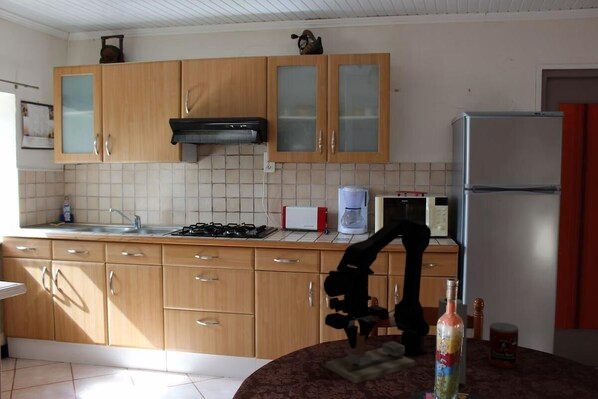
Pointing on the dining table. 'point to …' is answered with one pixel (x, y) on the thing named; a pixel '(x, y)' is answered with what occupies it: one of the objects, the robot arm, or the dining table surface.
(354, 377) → the board
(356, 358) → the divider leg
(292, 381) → the dining table surface
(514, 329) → the canned food
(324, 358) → the dining table surface
